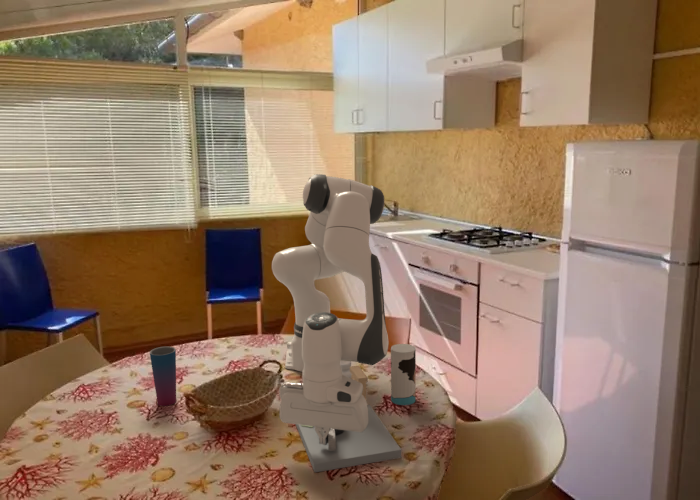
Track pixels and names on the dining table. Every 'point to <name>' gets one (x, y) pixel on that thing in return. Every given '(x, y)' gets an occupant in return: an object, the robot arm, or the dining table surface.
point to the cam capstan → (333, 438)
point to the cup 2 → (403, 374)
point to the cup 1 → (164, 374)
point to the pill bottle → (346, 368)
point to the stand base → (351, 441)
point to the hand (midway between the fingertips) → (324, 443)
